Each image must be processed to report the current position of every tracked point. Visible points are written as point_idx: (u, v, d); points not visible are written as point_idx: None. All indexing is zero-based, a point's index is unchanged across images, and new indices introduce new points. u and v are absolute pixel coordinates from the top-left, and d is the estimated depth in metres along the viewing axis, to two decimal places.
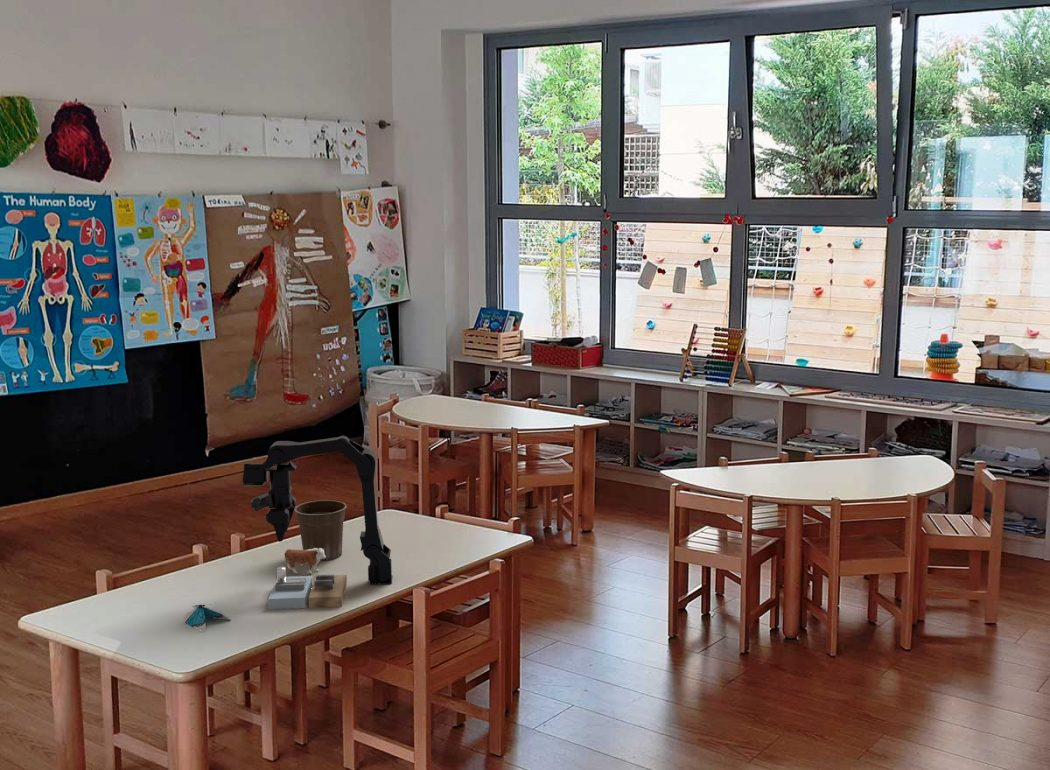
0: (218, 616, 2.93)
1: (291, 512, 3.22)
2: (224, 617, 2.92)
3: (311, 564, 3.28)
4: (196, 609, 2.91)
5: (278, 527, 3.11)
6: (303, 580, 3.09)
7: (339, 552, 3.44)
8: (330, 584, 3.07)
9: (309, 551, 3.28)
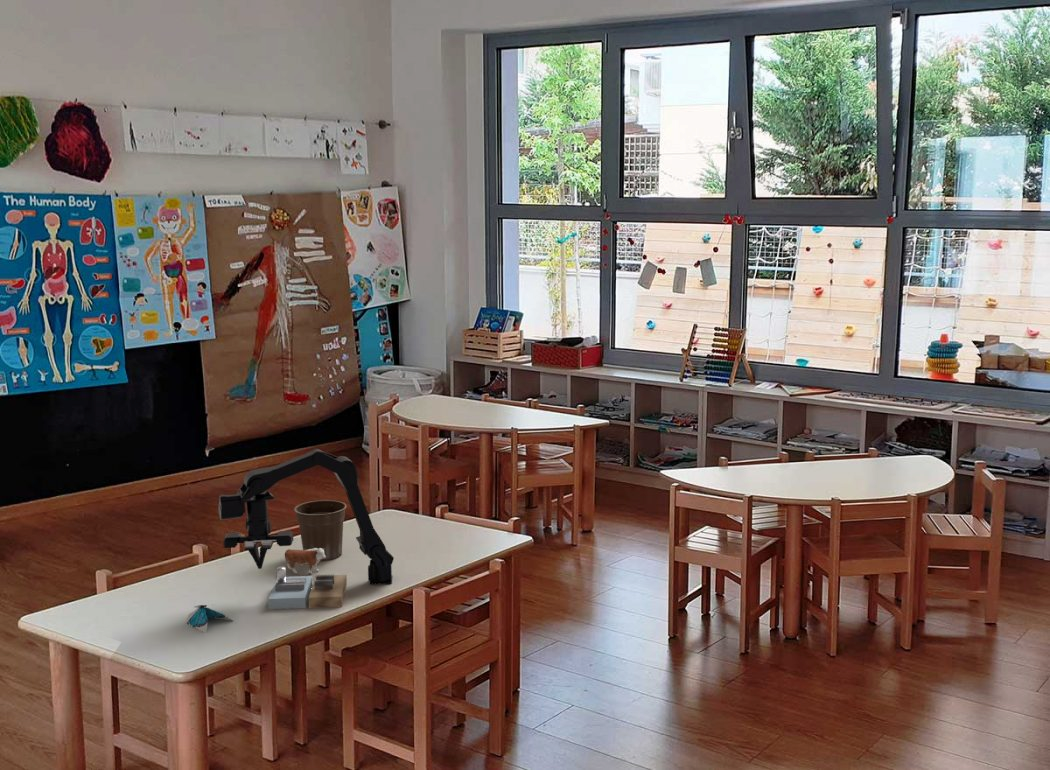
0: (220, 617, 2.93)
1: (260, 551, 3.05)
2: (226, 617, 2.92)
3: (311, 564, 3.28)
4: (198, 609, 2.91)
5: None
6: (303, 580, 3.09)
7: (339, 552, 3.44)
8: (330, 584, 3.07)
9: (309, 551, 3.28)
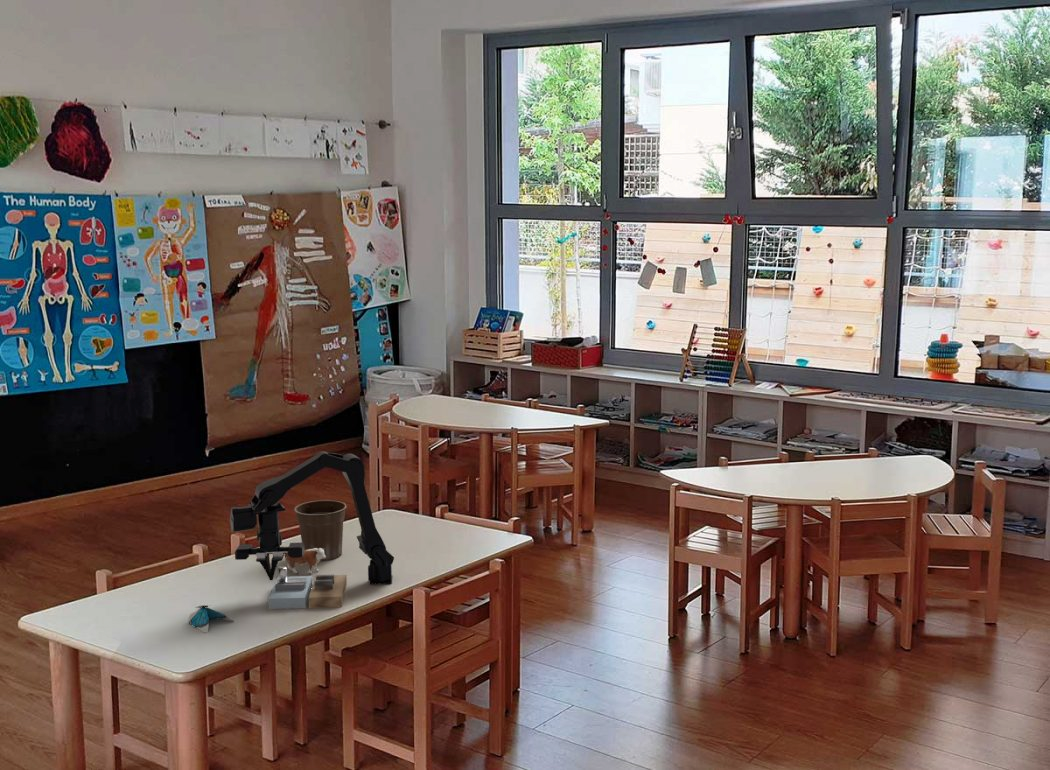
0: (222, 617, 2.93)
1: (271, 562, 3.06)
2: (227, 618, 2.92)
3: (311, 564, 3.28)
4: (199, 610, 2.91)
5: None
6: (304, 580, 3.09)
7: (339, 552, 3.44)
8: (330, 584, 3.07)
9: (309, 551, 3.28)
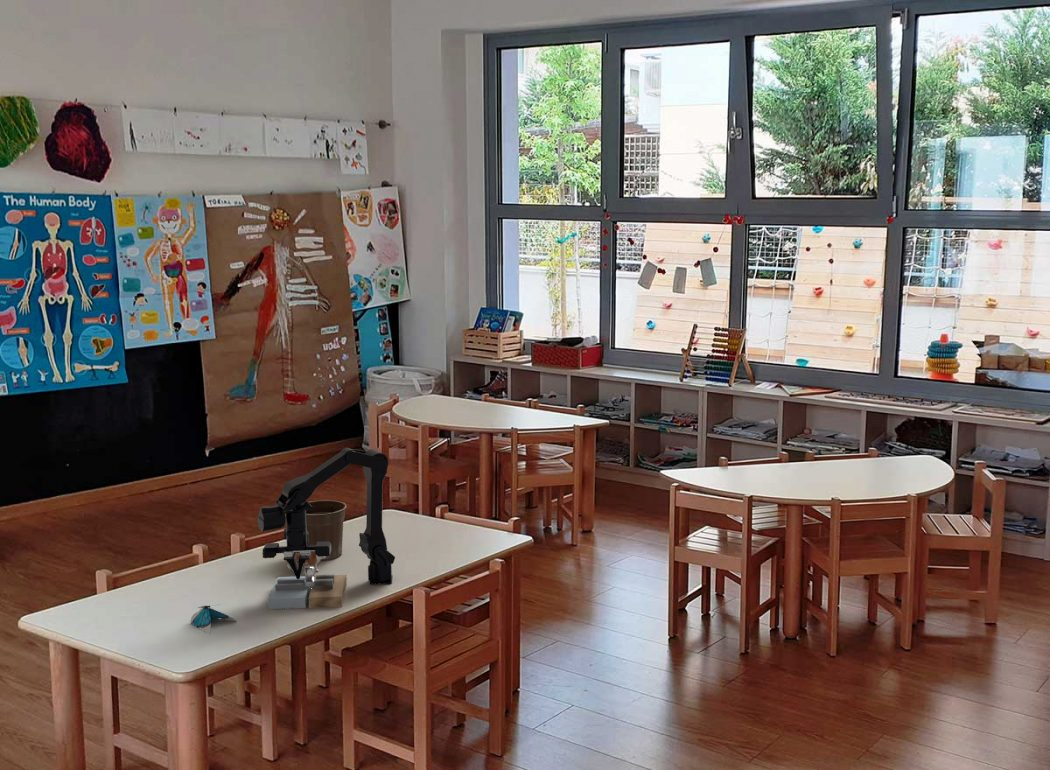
0: (224, 617, 2.92)
1: None
2: (230, 618, 2.92)
3: (311, 564, 3.28)
4: (202, 610, 2.91)
5: None
6: (331, 579, 3.10)
7: (339, 552, 3.44)
8: (330, 584, 3.07)
9: None
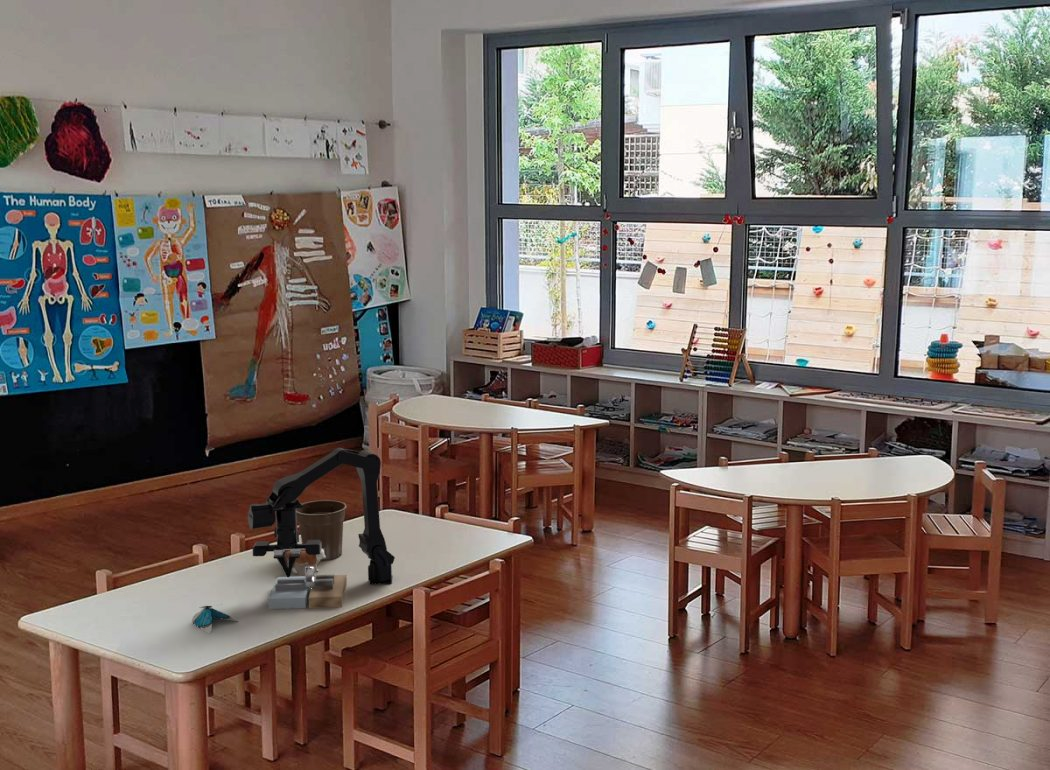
0: (226, 618, 2.92)
1: None
2: (231, 618, 2.91)
3: (311, 564, 3.28)
4: (203, 610, 2.91)
5: None
6: (331, 579, 3.10)
7: (339, 552, 3.44)
8: (330, 584, 3.07)
9: None
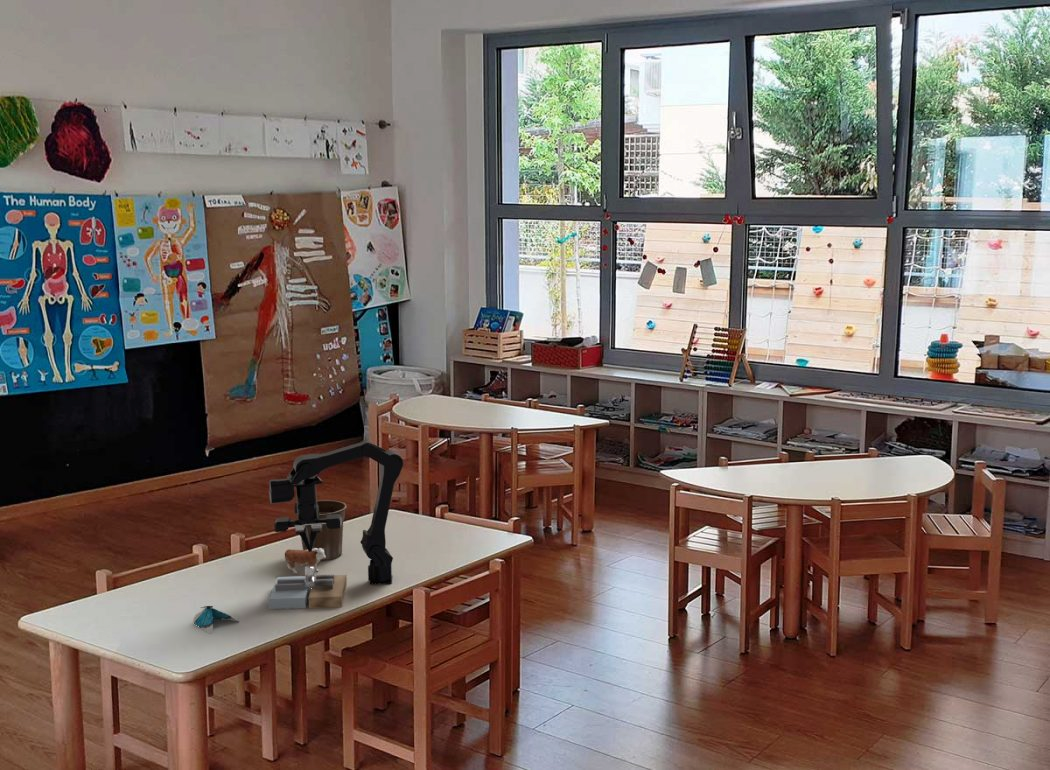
0: (227, 618, 2.92)
1: (310, 534, 3.11)
2: (232, 618, 2.91)
3: (311, 564, 3.28)
4: (204, 610, 2.91)
5: None
6: (331, 579, 3.10)
7: (339, 552, 3.44)
8: (330, 584, 3.07)
9: None
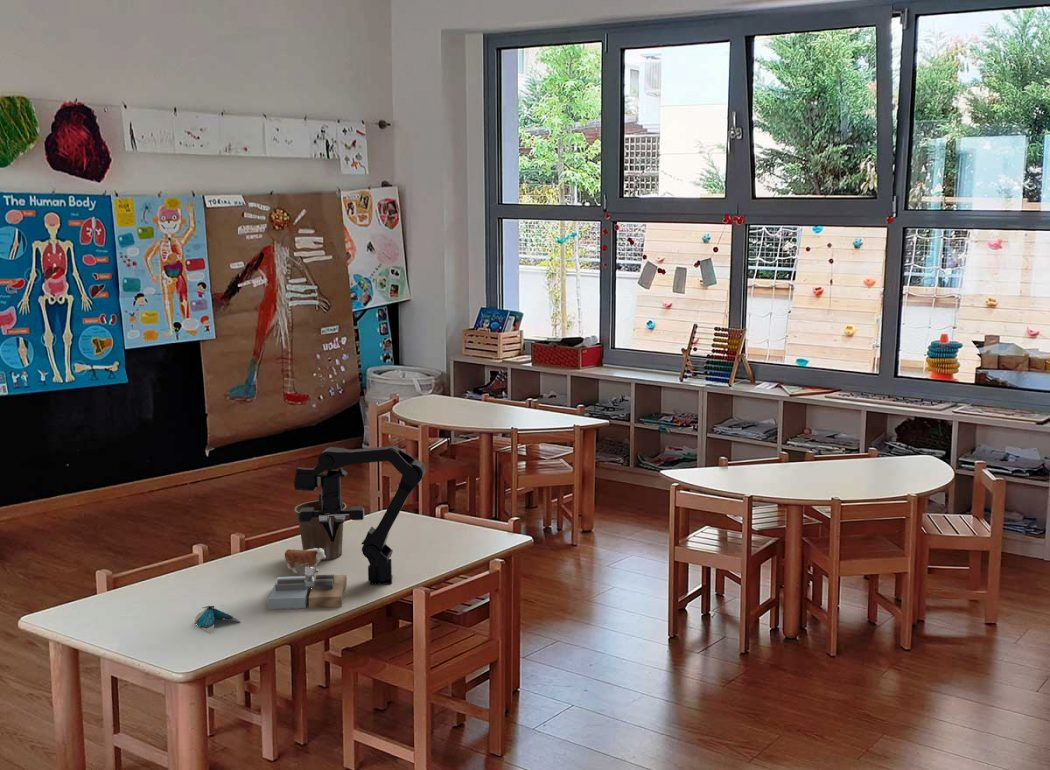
0: (228, 618, 2.92)
1: None
2: (234, 619, 2.91)
3: (311, 564, 3.28)
4: (206, 610, 2.90)
5: None
6: (331, 579, 3.10)
7: (339, 552, 3.44)
8: (330, 584, 3.07)
9: (309, 551, 3.28)
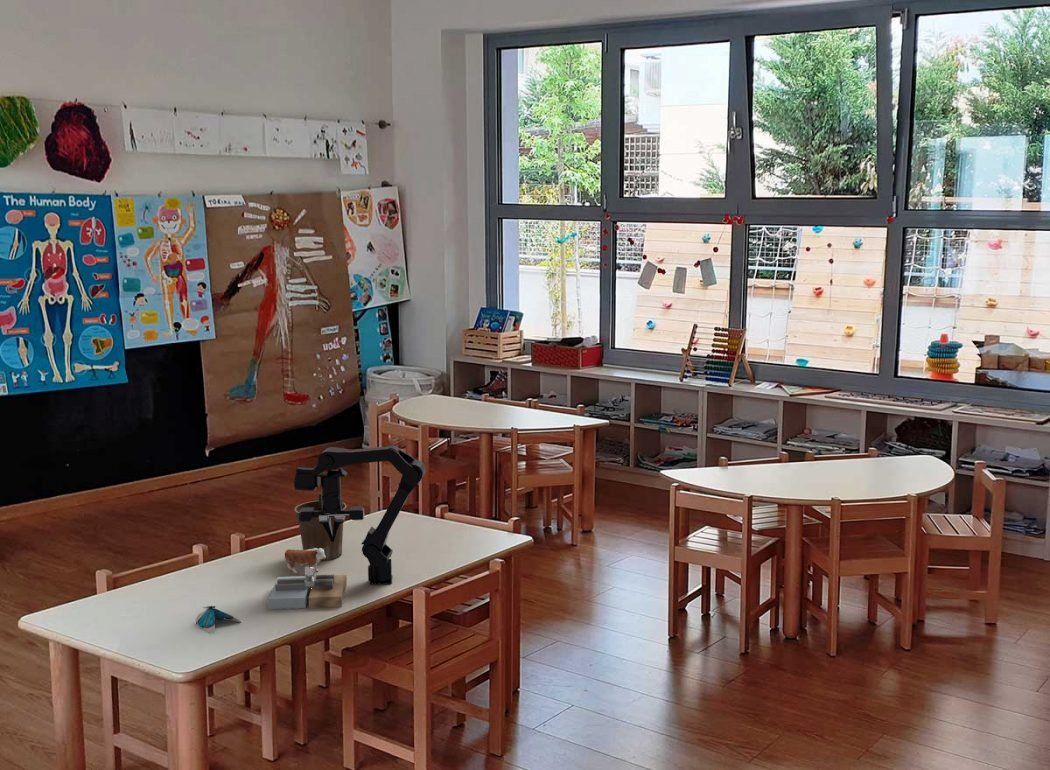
0: (229, 618, 2.92)
1: None
2: (234, 619, 2.91)
3: (311, 564, 3.28)
4: (207, 610, 2.90)
5: None
6: (331, 579, 3.10)
7: (339, 552, 3.44)
8: (330, 584, 3.07)
9: (309, 551, 3.28)
